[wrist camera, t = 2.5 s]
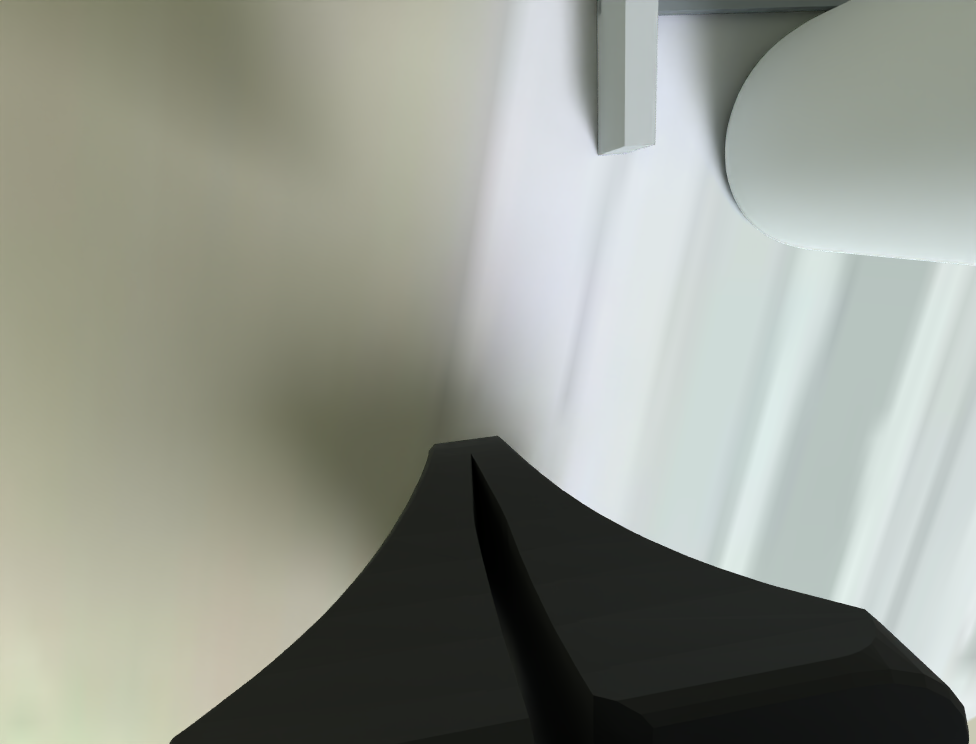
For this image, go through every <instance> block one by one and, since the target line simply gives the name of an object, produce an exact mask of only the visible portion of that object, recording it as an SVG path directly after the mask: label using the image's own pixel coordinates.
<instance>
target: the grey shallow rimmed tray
mask: <svg viewBox="0 0 976 744" xmlns="http://www.w3.org/2000/svg"><path fill="white" fill-rule="evenodd" d="M848 1H850V0H597V50H598V155H614V154H626V153H629V152H633V151H636V150H639V149H642V148H645V147H648V146H652V145H655V133H656V86H657V40H658V15H687V14H718V13H749V12H781V11H812V10H831V9H833V8H835V7H837V6H839V5H842V4H844V3H846V2H848Z"/></svg>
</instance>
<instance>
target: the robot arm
mask: <svg viewBox="0 0 976 744" xmlns="http://www.w3.org/2000/svg"><path fill="white" fill-rule="evenodd" d="M968 743H969V731H968V725H967V720H966V714H965V709H964V706H963V705H962V703H961V702H960V701H959V699H958V698H957V697H956V695H955V694H954V693H953V692H952V690H951V689H950V688H949V687H948V686H947V685H946V684H945V683H944V682H943V681H942V680H941V679H940V678H939V677H938V676H937V675H936V674H935V673H933V672H932V671H931V670H930V669H929V668H928V667H927V666H926V665H925V664H924V663H923V662H922V661H921V660H920V659H918V658H917V657H916V656H915V655H914V654H913V653H912V652H911V651H910V650H909V649H908V648H907V647H906V646H905V645H904V644H902V643H901V642H900V641H899V640H898V639H897V638H896V637H895V636H894V635H893V634H892V633H891V632H890V631H889V630H887V629H886V628H885V627H884V626H883V625H882V624H881V623H880V622H879V621H878V620H877V619H875V618H874V617H873V616H872V615H871V614H870V613H868V612H867V611H866V610H865V609H861V608H857V607H853V606H850V605H846V604H842V603H838V602H834V601H830V600H826V599H823V598H819V597H815V596H811V595H807V594H803V593H799V592H796V591H792V590H788V589H784V588H780V587H776V586H773V585H769V584H766V583H763V582H760V581H757V580H754V579H751V578H748V577H745V576H741V575H738V574H735V573H732V572H729V571H726V570H723V569H720V568H717V567H715V566H712V565H709V564H707V563H704V562H701V561H699V560H696V559H693V558H691V557H688V556H686V555H683V554H681V553H679V552H676V551H674V550H672V549H669V548H667V547H665V546H662V545H660V544H658V543H655V542H653V541H651V540H649V539H646V538H644V537H642V536H640V535H638V534H636V533H634V532H632V531H630V530H628V529H626V528H624V527H623V526H621V525H619V524H617V523H615V522H613V521H611V520H610V519H608V518H606V517H604V516H602V515H600V514H599V513H597V512H595V511H594V510H592V509H590V508H589V507H587V506H586V505H584V504H582V503H581V502H579V501H578V500H577V499H575V498H574V497H572V496H571V495H569V494H568V493H566V492H565V491H563V490H562V489H560V488H559V487H558V486H556V485H555V484H554V483H552V482H551V481H550V480H549V479H547V478H546V477H545V476H544V475H542V474H541V473H540V472H538V471H537V470H536V469H535V468H534V467H532V466H531V465H530V464H529V463H528V462H527V461H526V460H524V459H523V458H522V457H521V456H520V455H519V454H518V453H517V452H515V451H514V450H513V449H512V448H511V447H510V446H509V445H508V444H507V443H506V442H504V441H503V440H502V439H501V438H500V437H498V436H493V437H485V438H478V439H470V440H463V441H455V442H448V443H440V444H434V446H433V447H432V448H431V449H430V450H429V455H428V459H427V462H426V465H425V467H424V470H423V472H422V475H421V477H420V479H419V482H418V484H417V486H416V488H415V490H414V492H413V494H412V496H411V498H410V500H409V502H408V504H407V505H406V507H405V509H404V511H403V512H402V514H401V516H400V517H399V519H398V521H397V522H396V524H395V526H394V527H393V529H392V531H391V532H390V534H389V535H388V537H387V538H386V540H385V541H384V543H383V544H382V546H381V547H380V548H379V550H378V551H377V553H376V554H375V555H374V557H373V558H372V559H371V561H370V562H369V563H368V564H367V566H366V567H365V568H364V570H363V571H362V572H361V573H360V575H359V576H358V577H357V578H356V579H355V581H354V582H353V583H352V584H351V585H350V586H349V587H348V589H347V590H346V591H345V592H344V593H343V594H342V595H341V597H340V598H339V599H338V600H337V601H336V602H335V603H334V604H333V605H332V606H331V608H330V609H329V610H328V611H327V612H326V613H325V614H324V615H323V616H322V617H321V618H320V619H319V620H318V621H317V622H316V623H315V624H314V625H312V626H311V627H310V628H309V629H308V630H307V631H306V632H305V633H304V634H303V635H302V636H301V637H300V638H299V639H298V640H296V641H295V642H294V643H293V644H292V645H291V646H290V647H288V648H287V649H286V650H285V651H284V652H283V653H282V654H281V655H279V656H278V657H277V658H276V659H275V660H274V661H273V662H271V663H270V664H269V665H268V666H267V667H265V668H264V669H263V670H262V671H261V672H259V673H258V674H257V675H256V676H255V677H253V678H252V679H251V680H249V681H248V682H247V683H245V684H244V685H243V686H242V687H240V688H239V689H238V690H236V691H235V692H234V693H232V694H231V695H230V696H229V697H227V698H226V699H225V700H223V701H222V702H221V703H219V704H218V705H217V706H215V707H214V708H213V709H212V710H210V711H209V712H208V713H206V714H205V715H204V716H202V717H201V718H200V719H199V720H197V721H196V722H195V723H193V724H192V725H191V726H189V727H188V728H186V729H185V730H184V731H182V732H181V733H179V734H178V735H177V736H175V737H174V738H173V739H172V740H171V742H170V744H968Z"/></svg>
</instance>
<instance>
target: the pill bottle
mask: <svg viewBox="0 0 976 744" xmlns="http://www.w3.org/2000/svg"><path fill="white" fill-rule="evenodd" d="M725 163H726V172H727V177H728V182H729V185H730V188H731V191H732V194H733V196H734V199H735V201H736V203H737V205H738V206H739V208H740V210H741V211H742V213H743V214H744V216H745V217H746V218H747V219H748V220H749V222H750V223H751V224H752V225H753V226H754V227H755V228H757V229H758V230H759V231H760V232H762V233H763V234H765V235H766V236H768V237H770V238H771V239H773V240H775V241H778V242H780V243H783V244H786V245H790V246H794V247H797V248H801V249H807V250H816V251H827V252H838V253H848V254H859V255H869V256H880V257H890V258H901V259H911V260H922V261H932V262H943V263H953V264H964V265H974V266H976V0H850V1H848V2H846V3H844V4H842V5H839V6H837V7H835V8H833V9H831V10H829V11H827V12H825V13H823V14H821V15H819V16H817V17H815V18H813V19H811V20H809V21H808V22H806V23H804V24H803V25H801V26H800V27H798V28H797V29H795V30H794V31H792V32H791V33H789V34H788V35H786V36H785V37H784V38H782V39H781V40H780V41H779V42H778V43H776V44H775V45H774V46H773V47H772V48H771V49H770V50H769V51H768V52H767V53H766V54H765V55H764V56H763V57H762V59H761V60H760V61H759V62H758V63H757V65H756V66H755V67H754V69H753V70H752V71H751V73H750V74H749V76H748V78H747V79H746V81H745V83H744V84H743V86H742V88H741V90H740V92H739V94H738V97H737V99H736V101H735V104H734V107H733V109H732V112H731V116H730V119H729V124H728V128H727V134H726V143H725Z"/></svg>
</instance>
